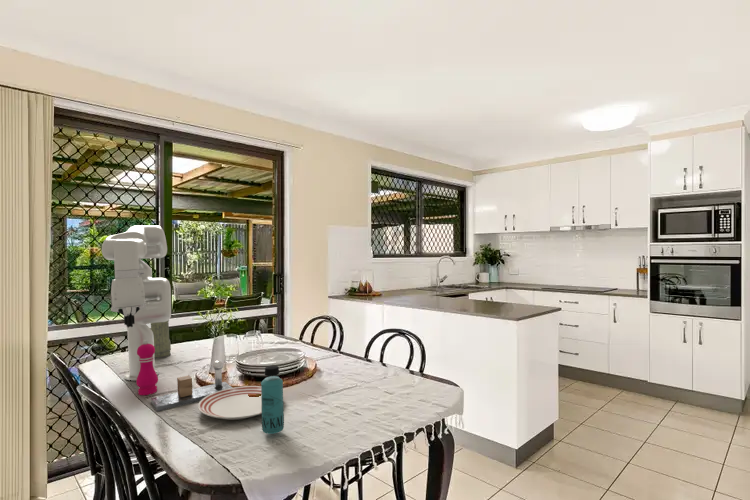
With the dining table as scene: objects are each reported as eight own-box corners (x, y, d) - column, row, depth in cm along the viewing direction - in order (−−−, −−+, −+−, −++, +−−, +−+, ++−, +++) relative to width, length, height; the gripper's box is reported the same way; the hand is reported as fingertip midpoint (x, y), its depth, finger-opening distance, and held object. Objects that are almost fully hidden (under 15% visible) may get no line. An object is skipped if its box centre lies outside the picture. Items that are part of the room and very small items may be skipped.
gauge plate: (151, 402, 152) (149, 370, 151) (225, 385, 168) (224, 356, 167) (157, 411, 144) (155, 377, 143) (234, 392, 160) (233, 361, 159)
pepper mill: (149, 396, 158) (147, 342, 157) (132, 395, 159) (129, 342, 158) (162, 389, 165) (160, 337, 164) (146, 388, 166) (144, 337, 165)
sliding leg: (177, 394, 154) (177, 377, 154) (189, 391, 157) (188, 375, 156) (180, 397, 151) (180, 380, 151) (192, 394, 154) (191, 378, 153)
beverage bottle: (263, 429, 128) (261, 363, 128) (286, 428, 129) (284, 362, 128) (259, 440, 122) (257, 370, 121) (283, 438, 123) (281, 369, 122)
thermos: (177, 353, 216) (174, 284, 214) (157, 359, 205) (154, 286, 204) (164, 351, 219) (161, 283, 218) (144, 358, 208) (141, 286, 207)
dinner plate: (283, 390, 162) (282, 381, 161) (283, 421, 135) (283, 410, 135) (205, 397, 156) (205, 388, 156) (190, 431, 129) (189, 420, 129)
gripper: (148, 272, 158) (150, 321, 159) (101, 275, 149) (103, 328, 150) (153, 273, 152) (155, 325, 153) (103, 277, 143) (106, 331, 144)
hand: (129, 326), depth 152 cm, fingers closed
